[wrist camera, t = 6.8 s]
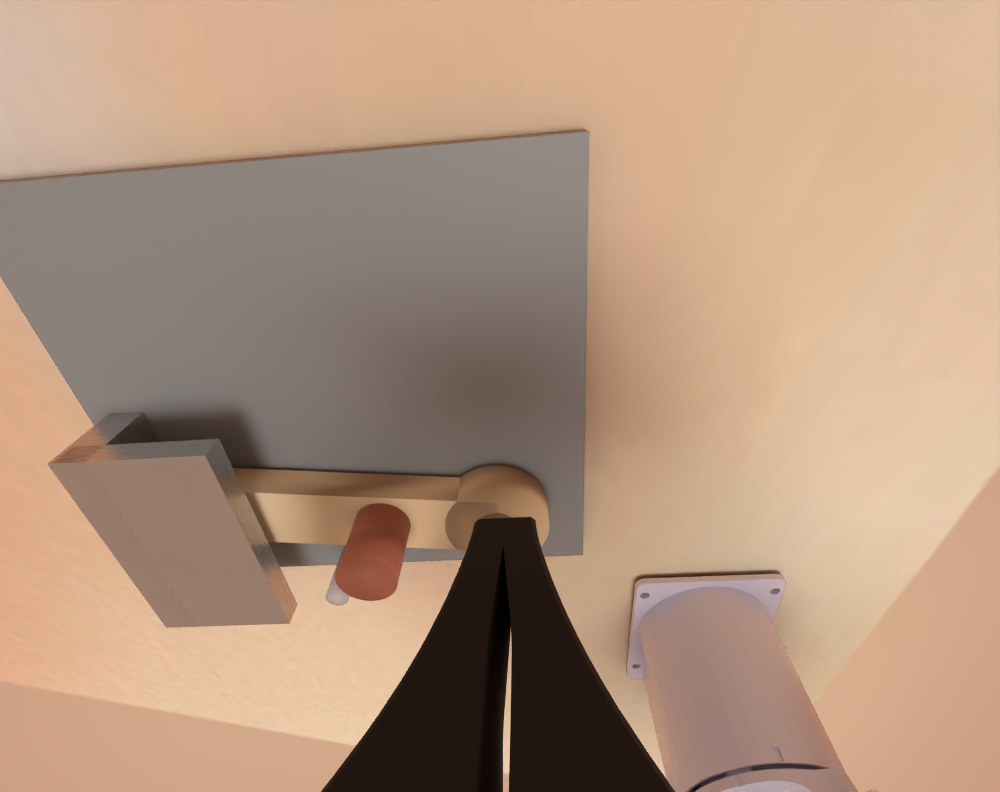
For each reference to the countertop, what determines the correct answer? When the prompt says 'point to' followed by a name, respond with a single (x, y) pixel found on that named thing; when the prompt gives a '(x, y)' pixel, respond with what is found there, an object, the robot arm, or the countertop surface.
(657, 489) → the countertop surface
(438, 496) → the latch
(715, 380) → the countertop surface
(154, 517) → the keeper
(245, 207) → the board
